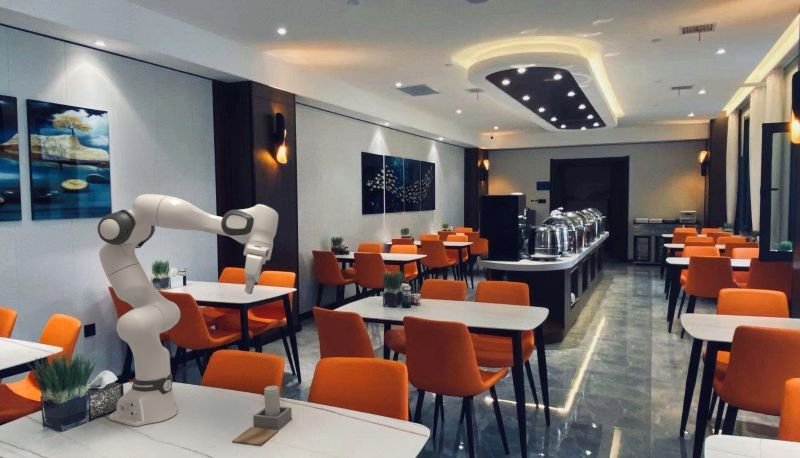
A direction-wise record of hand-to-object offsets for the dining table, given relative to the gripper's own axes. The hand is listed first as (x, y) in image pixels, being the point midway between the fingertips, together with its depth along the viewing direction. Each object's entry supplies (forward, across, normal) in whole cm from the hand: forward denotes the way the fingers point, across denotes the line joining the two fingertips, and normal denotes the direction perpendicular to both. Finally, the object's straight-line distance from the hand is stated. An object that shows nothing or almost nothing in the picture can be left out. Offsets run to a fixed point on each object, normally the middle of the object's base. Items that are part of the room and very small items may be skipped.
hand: (248, 293), depth 176 cm
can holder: (+40, -7, +17) cm, 44 cm away
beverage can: (+40, -7, +17) cm, 44 cm away
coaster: (+43, +2, +12) cm, 45 cm away
